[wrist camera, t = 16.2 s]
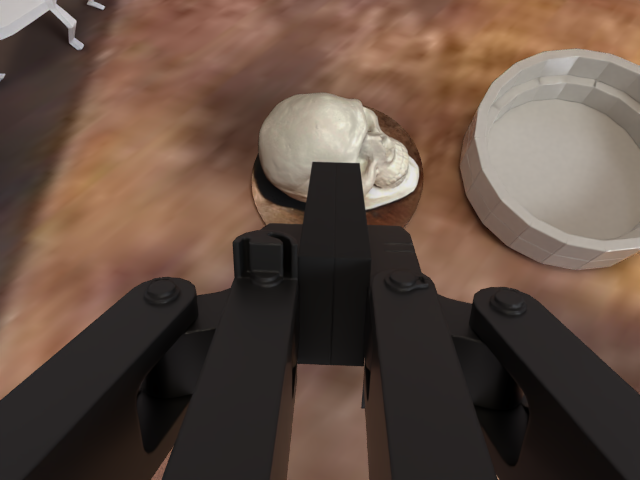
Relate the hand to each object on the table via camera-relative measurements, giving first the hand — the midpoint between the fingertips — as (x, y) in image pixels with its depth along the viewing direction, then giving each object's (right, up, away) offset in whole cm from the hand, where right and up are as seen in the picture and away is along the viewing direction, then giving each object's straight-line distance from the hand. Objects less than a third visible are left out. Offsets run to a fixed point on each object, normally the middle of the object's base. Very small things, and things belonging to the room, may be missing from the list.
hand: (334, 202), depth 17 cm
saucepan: (+17, +3, +20) cm, 26 cm away
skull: (+1, +3, +20) cm, 20 cm away
